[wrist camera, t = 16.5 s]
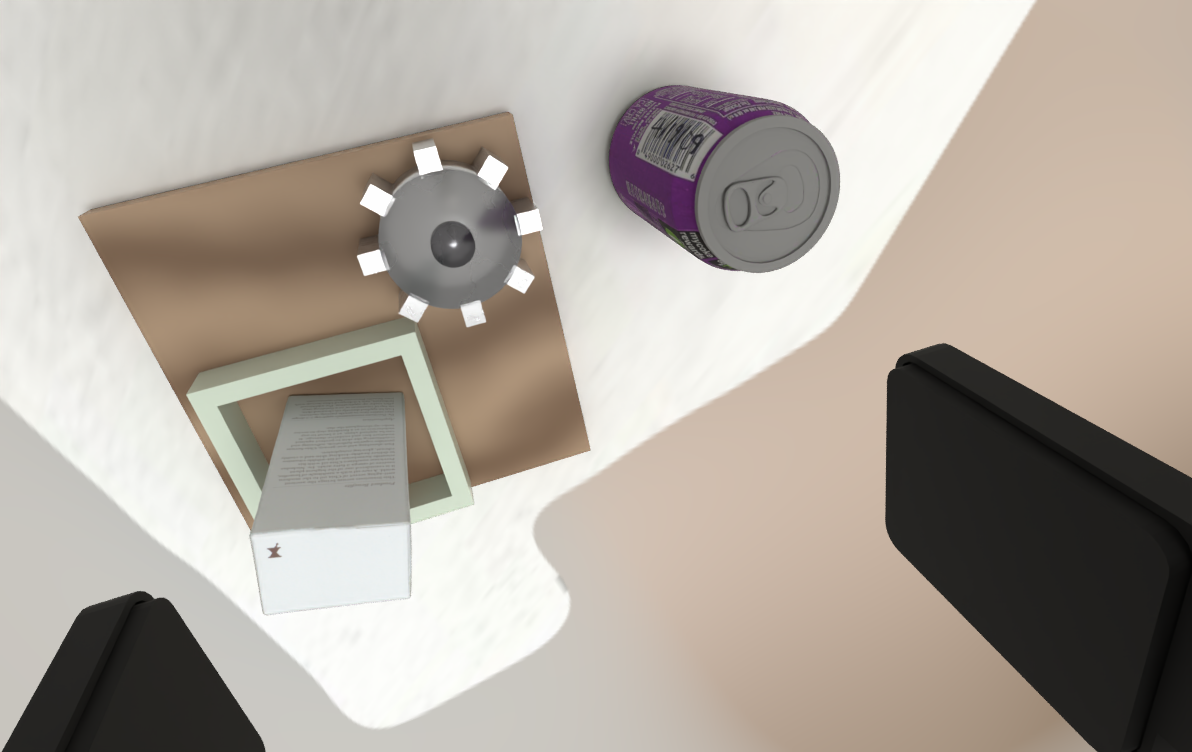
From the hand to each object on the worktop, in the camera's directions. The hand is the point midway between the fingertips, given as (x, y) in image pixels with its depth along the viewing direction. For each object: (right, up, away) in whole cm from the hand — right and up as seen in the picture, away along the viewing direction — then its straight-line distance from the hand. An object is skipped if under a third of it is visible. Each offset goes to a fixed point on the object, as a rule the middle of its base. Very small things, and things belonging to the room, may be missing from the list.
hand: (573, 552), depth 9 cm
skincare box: (-13, 0, +30) cm, 32 cm away
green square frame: (-14, -1, +30) cm, 32 cm away
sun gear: (-7, +10, +26) cm, 29 cm away
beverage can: (+4, +14, +29) cm, 33 cm away
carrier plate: (-12, +4, +29) cm, 32 cm away
